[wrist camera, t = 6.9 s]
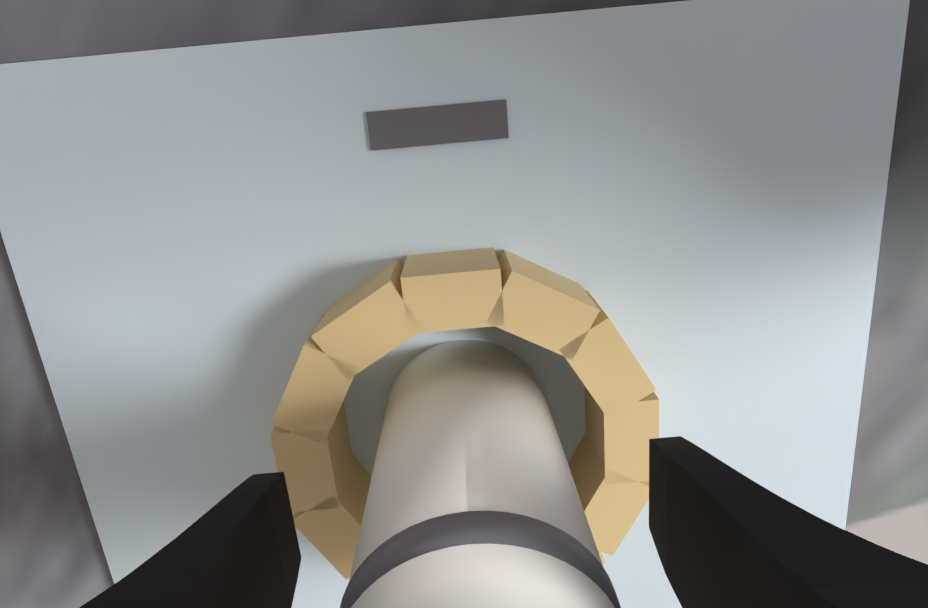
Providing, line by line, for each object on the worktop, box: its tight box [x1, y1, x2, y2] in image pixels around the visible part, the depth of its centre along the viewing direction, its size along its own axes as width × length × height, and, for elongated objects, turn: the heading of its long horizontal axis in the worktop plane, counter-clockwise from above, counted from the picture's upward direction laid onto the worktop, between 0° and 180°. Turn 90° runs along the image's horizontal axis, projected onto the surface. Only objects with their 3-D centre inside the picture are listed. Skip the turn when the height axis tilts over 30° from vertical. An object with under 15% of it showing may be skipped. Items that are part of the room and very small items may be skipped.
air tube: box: [340, 340, 621, 608], centre depth 11 cm, size 4×4×8 cm
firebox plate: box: [0, 0, 910, 608], centre depth 15 cm, size 20×18×3 cm
